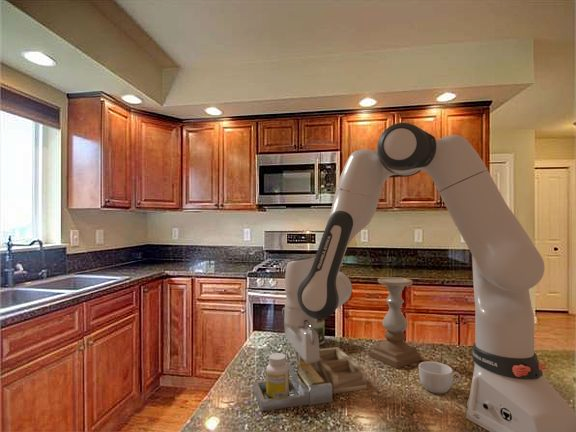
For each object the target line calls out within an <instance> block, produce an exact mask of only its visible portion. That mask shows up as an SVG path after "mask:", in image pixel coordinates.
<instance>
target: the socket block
mask: <svg viewBox="0 0 576 432" xmlns="http://www.w3.org/2000/svg"><path fill="white" fill-rule="evenodd" d="M286 364H287V365H288V367H289V375H290V376H289V390H291V393H292V395H289V396H285V397H278V398H271V399H267V398H265V396H264V395H263V391H266V379H265V380H257V381H253V382H252V384H253V385H252V387H253V388H252V390H253V392H254V393H253V394H254V396H255V398H256V401H257V403H258V407H259V409H260V411H261V412H265V411H271V410H279V409H285V408H292V407H298V406H299V407H300V406H305V405H306V406H307V405H310V406H314V405H321V404H328V403H333V392H332V384H331V383H324V384H318V385H310V386H309V389H308V388H307V387H306V385H305V384H304V383H302V382H301V380H300V379H299V377H298V376H297V372H295V370H294V369H293V367H292V366H291V364H290V363H286Z"/></svg>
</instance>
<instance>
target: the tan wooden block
mask: <svg viewBox="0 0 576 432" xmlns="http://www.w3.org/2000/svg"><path fill="white" fill-rule="evenodd" d="M296 368H297V369H296V374H297V376H298V377H299V379H300V380H301V382H302V383H304V384H305V385H306V387H307V388H308V389H309V386H310V385H318V384H325V383H324V380H323V379H322V378H321V377H320V376H319V374H318V373H317V372H316V371H315V370H314V368H313V367H312V366H311V365H310V363H306V362H305V361H304V360H303V359H299V360H297V364H296Z"/></svg>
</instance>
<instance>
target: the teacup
mask: <svg viewBox="0 0 576 432" xmlns="http://www.w3.org/2000/svg"><path fill="white" fill-rule="evenodd" d="M455 375H458V378H457V379H455V380H453V377H454V376H455ZM418 376H419V381H420V384H421V385H422V386H423V388H424V389H425V390H427V391H428V392H429V393H434V394H438V395H439V394H444V393H446V392H448V391H449V389H451V386H452V385H454V384H457V383H458V382H460V381H461V379H462V377H461V374H460V373H459V372H457V371H454V370H453V368H452V367H450V366H449V365H448V364H445V363H442V362H437V361H422V362H420V363H419V364H418Z"/></svg>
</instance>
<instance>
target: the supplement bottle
mask: <svg viewBox="0 0 576 432" xmlns="http://www.w3.org/2000/svg"><path fill="white" fill-rule="evenodd" d="M286 360H287V356H286V354H284V353H281V352H276V353H271V354H270V355H269V356H268V363H269V364H268V365H267V366H266V367H265V368H266V370H265V371H266V378H265V380H266V390H265V391H266V399H271V398H278V397H285V396H290V388H289V377H290V373H289V367H288V365H287V364H288V363H286V362H287V361H286Z"/></svg>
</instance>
